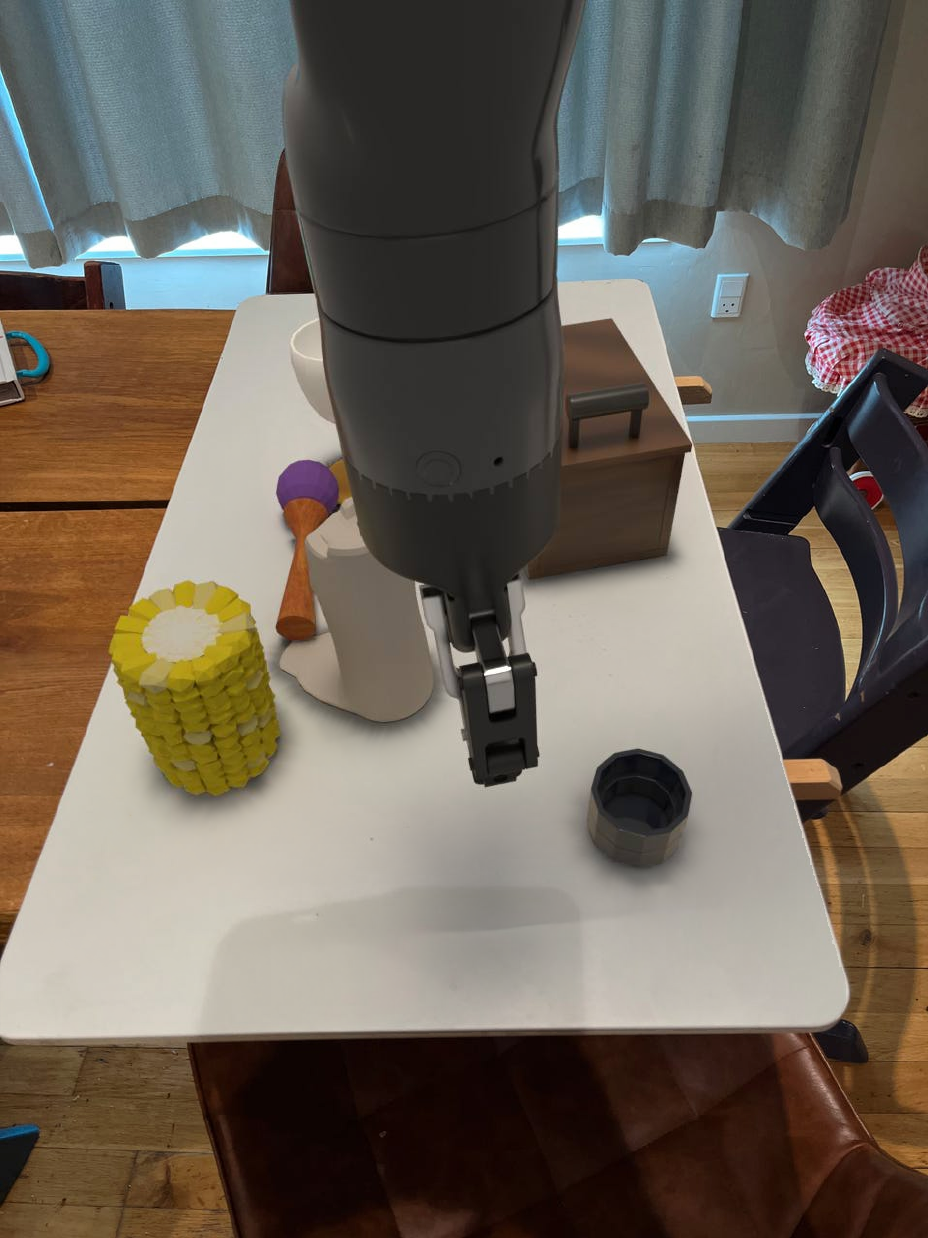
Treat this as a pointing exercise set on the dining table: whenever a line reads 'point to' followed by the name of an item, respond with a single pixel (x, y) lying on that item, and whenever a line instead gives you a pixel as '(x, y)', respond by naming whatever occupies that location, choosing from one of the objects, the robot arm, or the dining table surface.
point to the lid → (611, 403)
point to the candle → (361, 629)
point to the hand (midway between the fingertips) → (478, 699)
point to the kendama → (303, 539)
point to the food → (197, 685)
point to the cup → (316, 386)
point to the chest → (612, 516)
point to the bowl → (638, 807)
